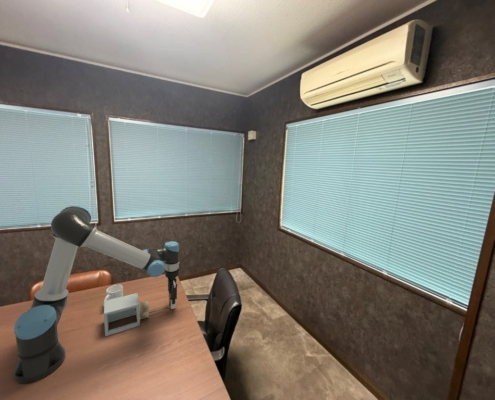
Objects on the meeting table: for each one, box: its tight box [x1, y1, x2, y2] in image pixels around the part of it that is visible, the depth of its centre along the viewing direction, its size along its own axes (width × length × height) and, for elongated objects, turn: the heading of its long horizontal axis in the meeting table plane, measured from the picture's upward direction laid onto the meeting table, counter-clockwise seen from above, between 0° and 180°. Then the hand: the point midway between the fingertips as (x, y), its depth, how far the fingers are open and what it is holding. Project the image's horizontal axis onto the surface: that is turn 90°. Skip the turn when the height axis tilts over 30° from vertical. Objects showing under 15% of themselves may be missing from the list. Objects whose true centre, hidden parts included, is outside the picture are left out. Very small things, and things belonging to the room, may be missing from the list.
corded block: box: [135, 293, 171, 321], centre depth 121 cm, size 20×6×8 cm, turn 122°
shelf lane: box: [103, 292, 141, 337], centre depth 112 cm, size 15×11×12 cm
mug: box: [103, 284, 124, 307], centre depth 125 cm, size 12×8×10 cm
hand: (172, 306), depth 126 cm, fingers closed on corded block, 3 cm apart
